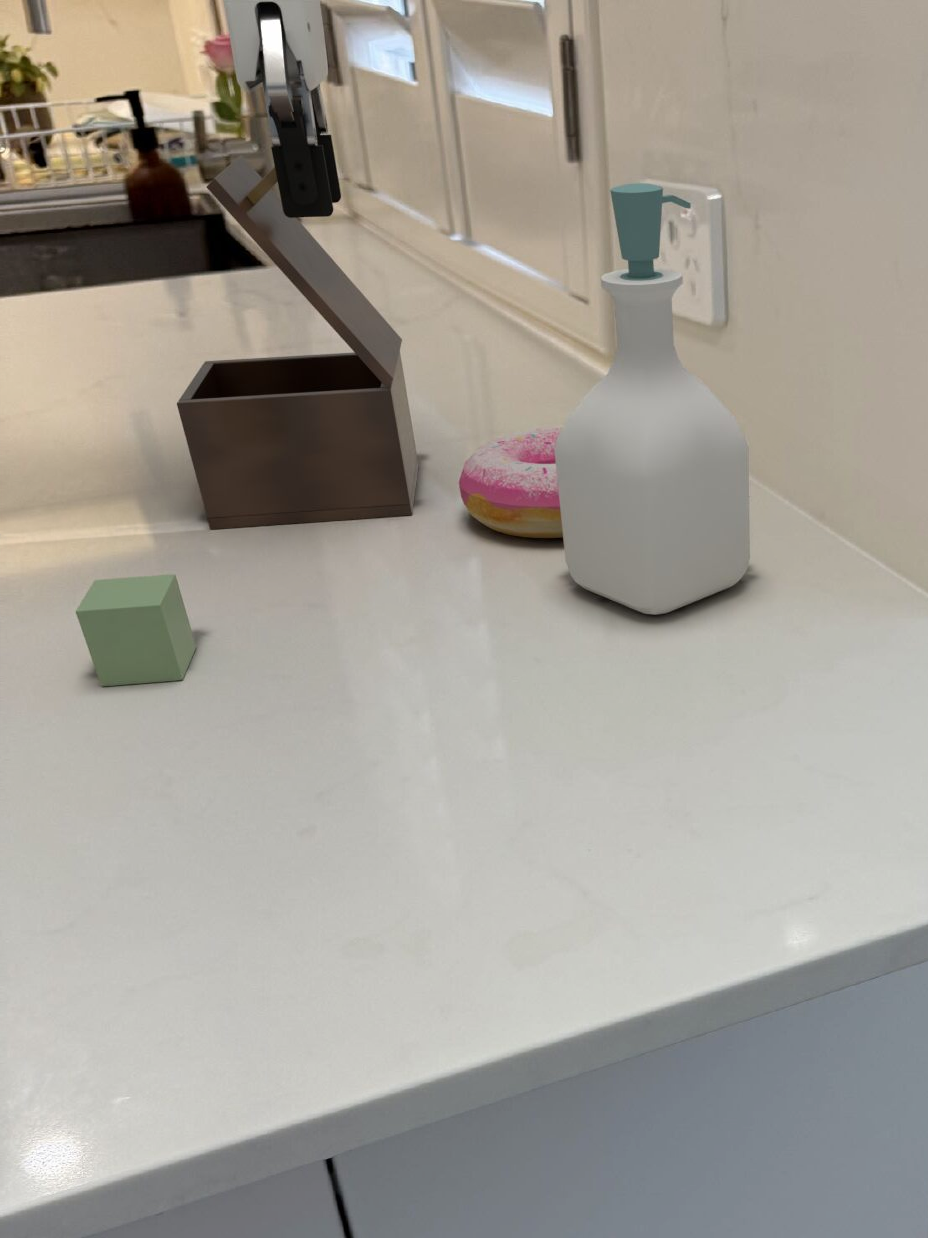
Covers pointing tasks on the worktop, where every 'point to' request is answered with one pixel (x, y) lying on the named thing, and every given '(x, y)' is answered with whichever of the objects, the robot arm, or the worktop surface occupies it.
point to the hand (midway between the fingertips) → (313, 206)
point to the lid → (307, 265)
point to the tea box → (299, 440)
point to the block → (137, 630)
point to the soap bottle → (651, 448)
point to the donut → (515, 484)
